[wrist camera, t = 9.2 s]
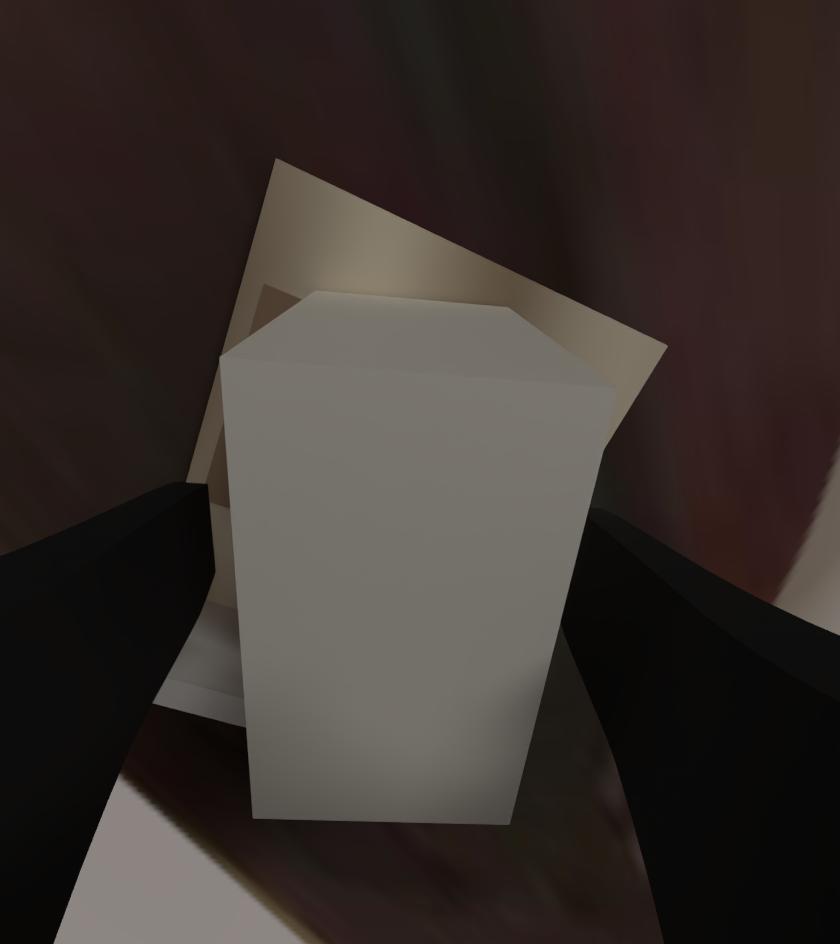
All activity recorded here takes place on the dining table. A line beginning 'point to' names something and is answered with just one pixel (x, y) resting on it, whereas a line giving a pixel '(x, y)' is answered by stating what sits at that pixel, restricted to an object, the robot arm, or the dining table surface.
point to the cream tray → (370, 273)
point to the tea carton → (402, 549)
